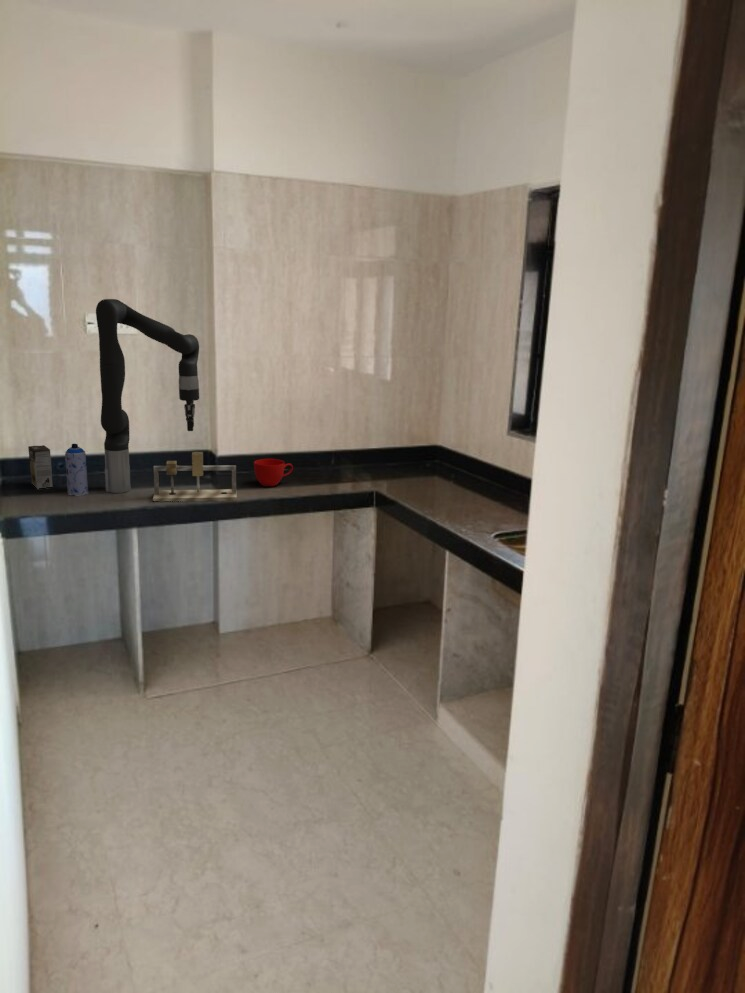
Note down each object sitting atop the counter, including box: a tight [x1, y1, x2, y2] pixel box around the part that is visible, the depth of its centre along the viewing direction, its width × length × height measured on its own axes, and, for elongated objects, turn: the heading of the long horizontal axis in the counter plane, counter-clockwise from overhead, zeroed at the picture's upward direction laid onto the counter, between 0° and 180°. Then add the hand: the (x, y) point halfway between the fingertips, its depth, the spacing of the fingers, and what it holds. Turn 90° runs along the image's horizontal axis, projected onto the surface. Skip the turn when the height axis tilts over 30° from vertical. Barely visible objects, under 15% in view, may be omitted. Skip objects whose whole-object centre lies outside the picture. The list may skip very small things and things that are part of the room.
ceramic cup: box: [253, 458, 294, 487], centre depth 321 cm, size 13×17×10 cm
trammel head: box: [191, 451, 204, 492], centre depth 296 cm, size 4×5×16 cm
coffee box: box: [28, 445, 54, 490], centre depth 303 cm, size 9×6×16 cm
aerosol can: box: [64, 443, 89, 496], centre depth 295 cm, size 8×8×20 cm
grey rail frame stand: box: [152, 460, 238, 503], centre depth 296 cm, size 32×12×14 cm, turn 101°
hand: (190, 428), depth 293 cm, fingers open, 8 cm apart
